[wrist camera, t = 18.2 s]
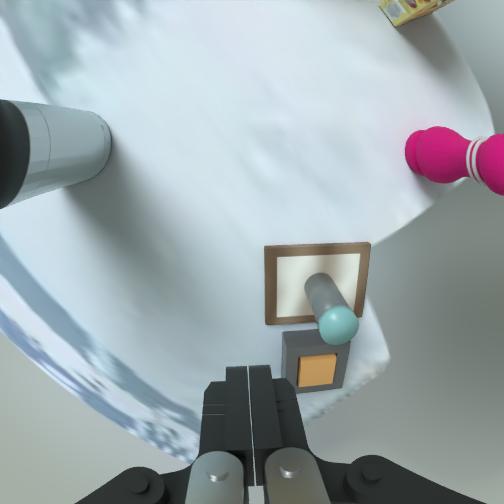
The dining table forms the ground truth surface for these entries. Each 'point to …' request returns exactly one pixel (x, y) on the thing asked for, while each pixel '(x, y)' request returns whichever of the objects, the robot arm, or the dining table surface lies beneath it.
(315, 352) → the button housing
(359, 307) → the board
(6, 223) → the dining table surface
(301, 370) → the button
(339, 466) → the robot arm
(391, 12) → the candy box
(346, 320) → the marker
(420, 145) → the pepper mill
